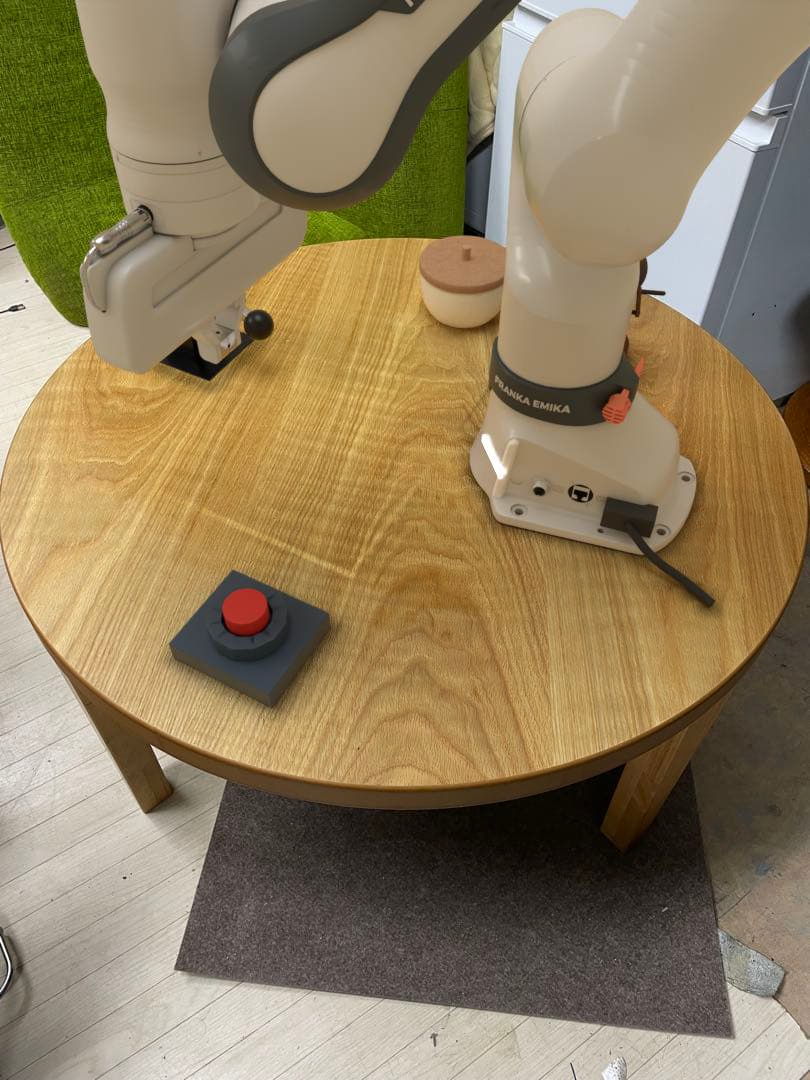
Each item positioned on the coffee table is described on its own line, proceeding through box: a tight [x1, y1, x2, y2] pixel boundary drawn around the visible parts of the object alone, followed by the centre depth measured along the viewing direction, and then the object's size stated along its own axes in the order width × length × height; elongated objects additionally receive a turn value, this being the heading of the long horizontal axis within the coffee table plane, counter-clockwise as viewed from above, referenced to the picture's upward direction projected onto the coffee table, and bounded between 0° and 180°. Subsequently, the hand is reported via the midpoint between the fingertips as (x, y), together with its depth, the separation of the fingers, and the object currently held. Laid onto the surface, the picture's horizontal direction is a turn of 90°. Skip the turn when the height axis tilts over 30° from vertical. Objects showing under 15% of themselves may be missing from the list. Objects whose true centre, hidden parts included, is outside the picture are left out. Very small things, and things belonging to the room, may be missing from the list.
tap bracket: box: [158, 316, 255, 382], centre depth 95 cm, size 11×9×14 cm
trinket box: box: [418, 235, 506, 329], centre depth 101 cm, size 11×11×9 cm
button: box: [222, 589, 270, 636], centre depth 71 cm, size 4×4×2 cm
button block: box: [168, 569, 331, 709], centre depth 72 cm, size 10×9×4 cm
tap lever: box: [241, 305, 275, 342], centre depth 91 cm, size 14×3×3 cm, turn 62°
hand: (221, 352), depth 66 cm, fingers closed
